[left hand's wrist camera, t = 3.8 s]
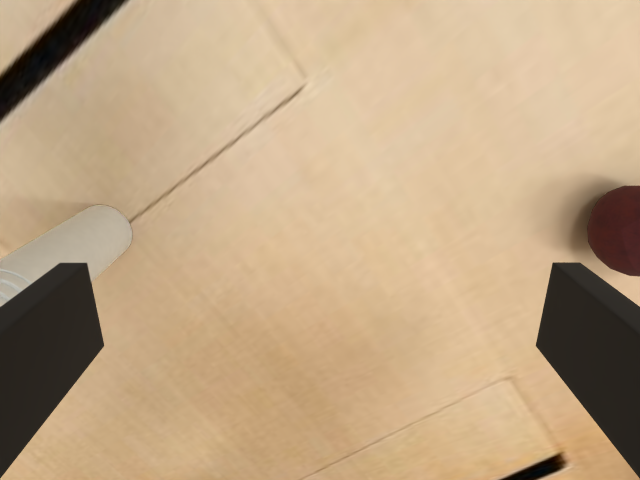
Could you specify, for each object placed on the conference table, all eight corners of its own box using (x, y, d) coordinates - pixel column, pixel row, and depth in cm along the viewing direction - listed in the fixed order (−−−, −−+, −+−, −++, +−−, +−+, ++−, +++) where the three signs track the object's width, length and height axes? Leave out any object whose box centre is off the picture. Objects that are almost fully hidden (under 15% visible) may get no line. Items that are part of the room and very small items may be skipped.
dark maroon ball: (589, 268, 43) (637, 304, 36) (557, 204, 41) (603, 230, 34) (664, 228, 41) (728, 258, 35) (635, 159, 39) (699, 178, 33)
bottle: (80, 255, 43) (-108, 400, 24) (73, 203, 41) (-138, 316, 22) (135, 257, 43) (-10, 404, 24) (129, 206, 41) (-32, 321, 22)
